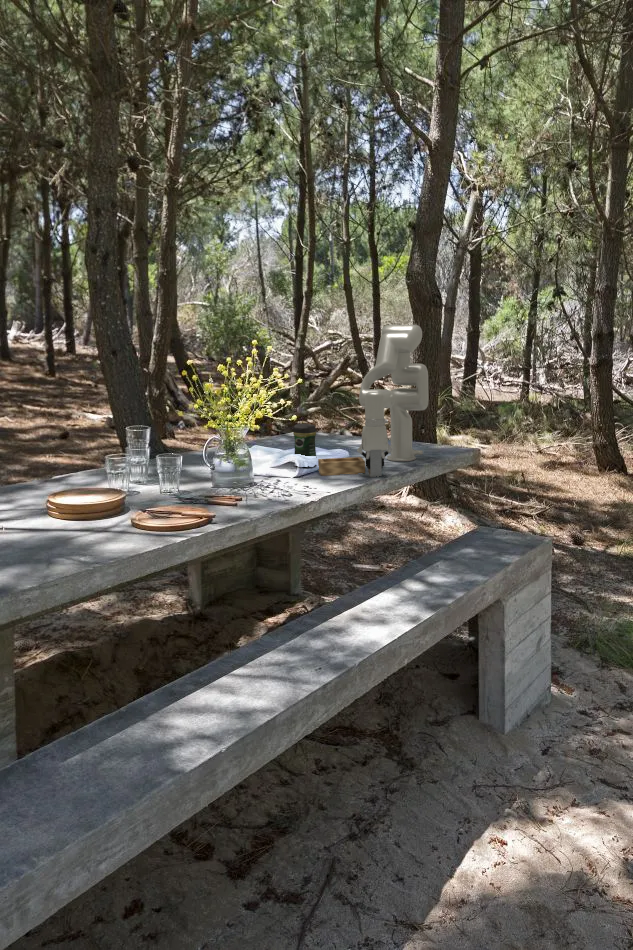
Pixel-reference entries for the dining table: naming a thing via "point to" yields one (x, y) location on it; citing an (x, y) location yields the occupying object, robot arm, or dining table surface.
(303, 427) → the coffee jar
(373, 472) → the grey rectangular block
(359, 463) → the wooden box
